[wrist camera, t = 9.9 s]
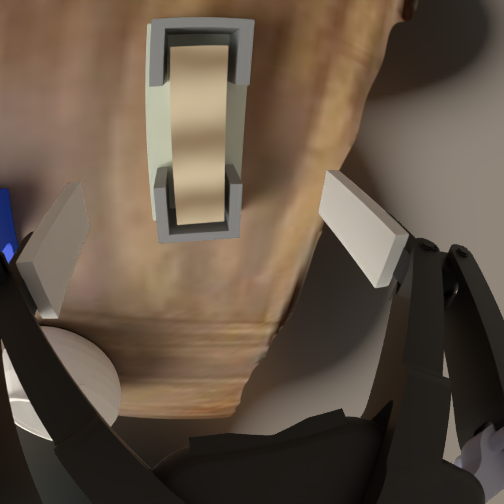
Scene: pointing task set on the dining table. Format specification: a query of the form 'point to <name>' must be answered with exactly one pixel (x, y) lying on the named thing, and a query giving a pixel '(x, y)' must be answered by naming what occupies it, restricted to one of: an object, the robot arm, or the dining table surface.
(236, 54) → the bracket board
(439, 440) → the robot arm
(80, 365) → the pot
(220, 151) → the tan long curved block
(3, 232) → the bracket
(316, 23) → the dining table surface
